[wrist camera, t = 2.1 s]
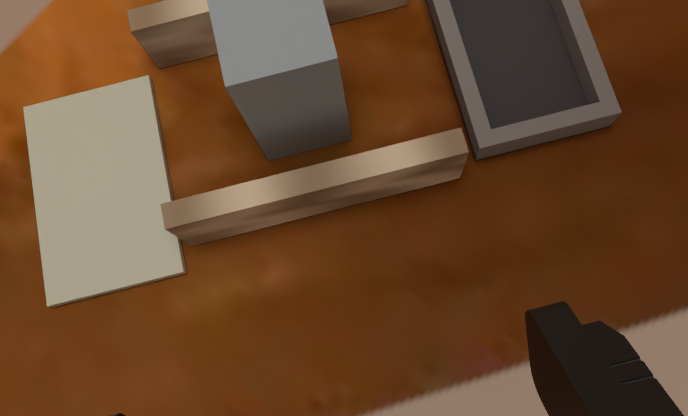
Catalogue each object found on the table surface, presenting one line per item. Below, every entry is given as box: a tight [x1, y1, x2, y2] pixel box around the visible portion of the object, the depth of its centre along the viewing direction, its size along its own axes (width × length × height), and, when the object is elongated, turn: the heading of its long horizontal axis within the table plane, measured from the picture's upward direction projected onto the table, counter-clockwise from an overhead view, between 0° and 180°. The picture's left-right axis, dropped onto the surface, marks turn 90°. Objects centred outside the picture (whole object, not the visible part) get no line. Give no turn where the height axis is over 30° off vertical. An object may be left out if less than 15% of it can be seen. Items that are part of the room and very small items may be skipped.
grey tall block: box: [207, 0, 352, 161], centre depth 30 cm, size 4×4×9 cm
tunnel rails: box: [127, 0, 469, 246], centre depth 32 cm, size 14×11×4 cm
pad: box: [23, 75, 186, 307], centre depth 34 cm, size 7×11×1 cm, turn 14°
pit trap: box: [425, 0, 622, 160], centre depth 33 cm, size 7×10×2 cm
